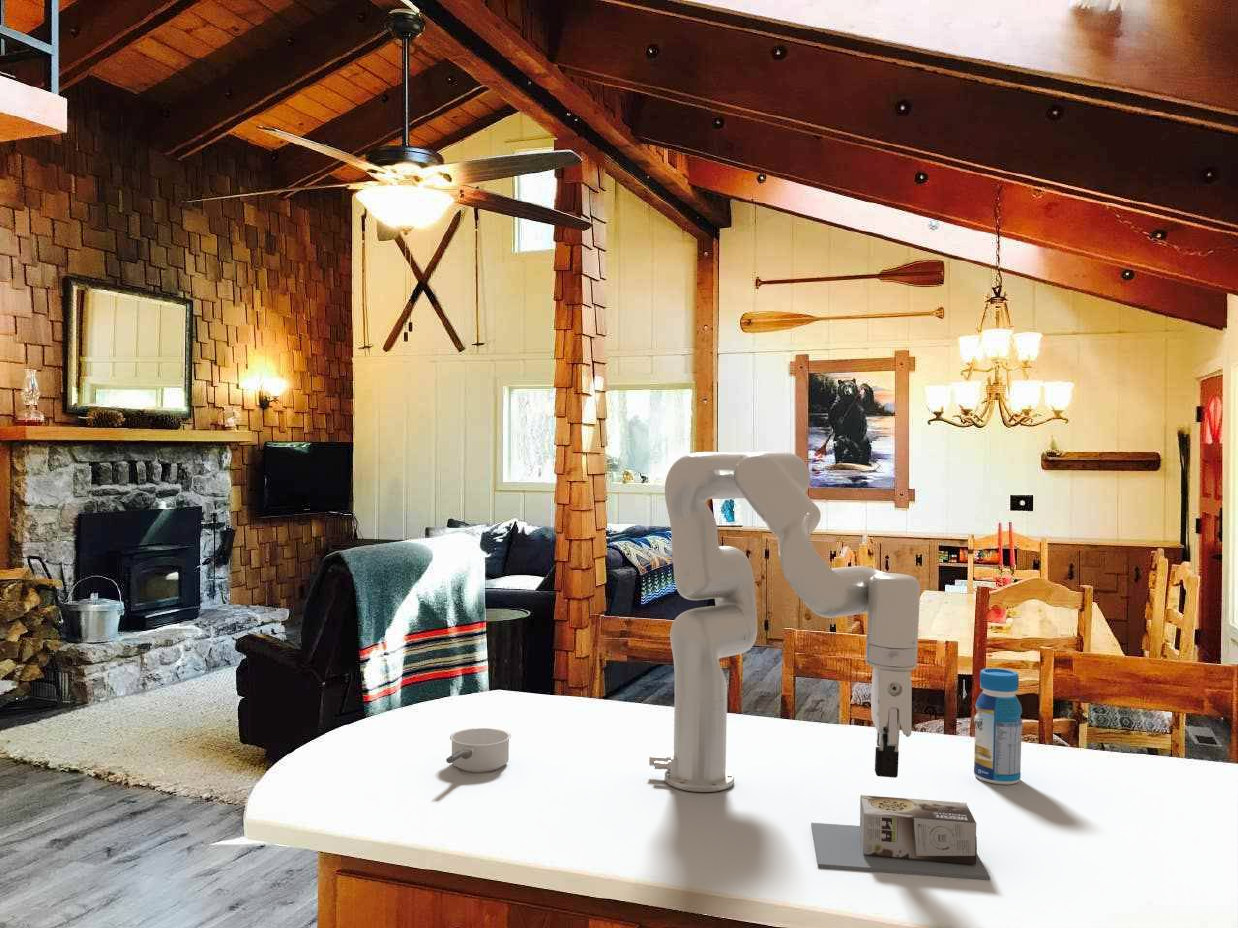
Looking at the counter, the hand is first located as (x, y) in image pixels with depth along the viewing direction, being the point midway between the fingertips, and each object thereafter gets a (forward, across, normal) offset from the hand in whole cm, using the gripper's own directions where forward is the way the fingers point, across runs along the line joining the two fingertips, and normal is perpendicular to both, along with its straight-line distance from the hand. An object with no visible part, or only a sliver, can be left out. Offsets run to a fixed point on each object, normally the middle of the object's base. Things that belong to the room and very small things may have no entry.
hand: (886, 774), depth 149 cm
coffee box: (+8, 0, +4) cm, 9 cm away
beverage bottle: (+12, +37, -26) cm, 47 cm away
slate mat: (+11, -1, -2) cm, 12 cm away
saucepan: (+13, +23, +71) cm, 76 cm away
